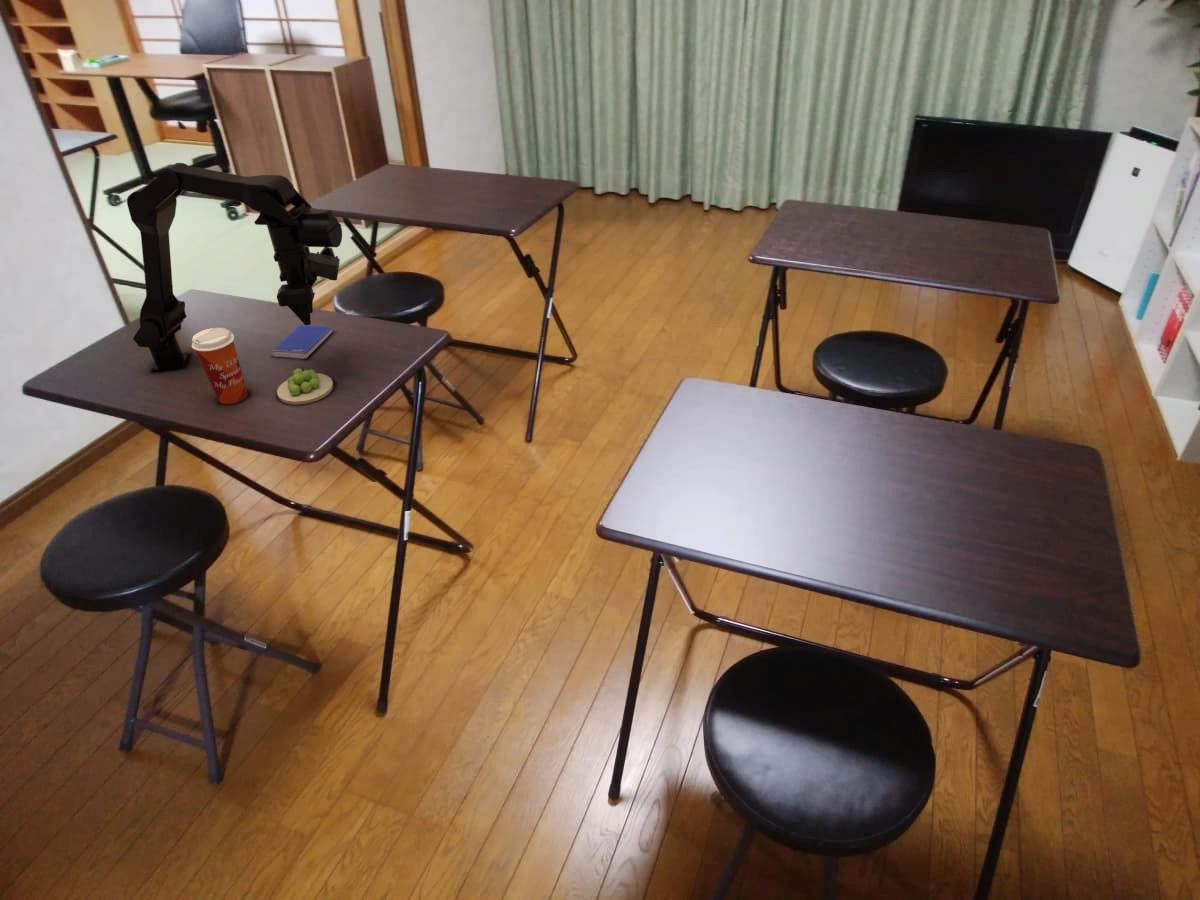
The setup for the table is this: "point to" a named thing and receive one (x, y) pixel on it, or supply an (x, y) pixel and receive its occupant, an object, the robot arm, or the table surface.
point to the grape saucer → (306, 397)
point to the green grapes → (302, 381)
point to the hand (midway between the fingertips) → (309, 318)
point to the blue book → (302, 342)
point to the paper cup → (221, 364)
